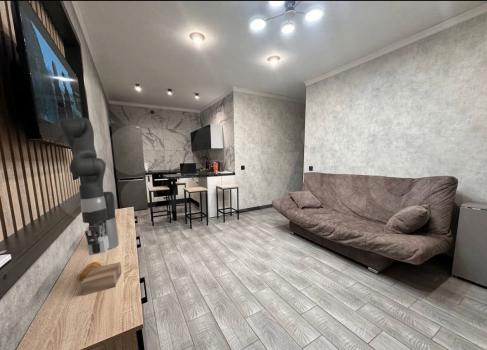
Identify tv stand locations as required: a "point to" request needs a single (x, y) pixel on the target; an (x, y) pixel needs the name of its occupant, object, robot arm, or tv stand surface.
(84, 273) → the pastry
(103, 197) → the robot arm
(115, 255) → the tv stand surface
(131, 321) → the tv stand surface
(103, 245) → the grey cube
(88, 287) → the tan square block
